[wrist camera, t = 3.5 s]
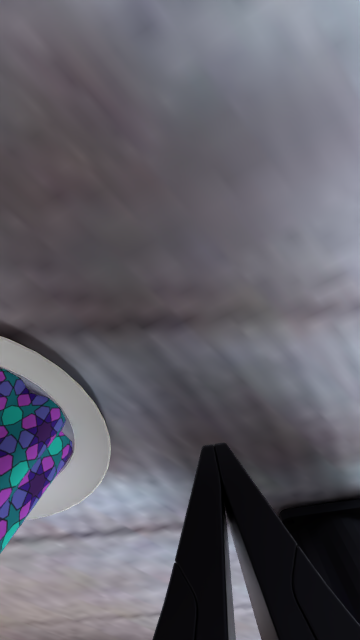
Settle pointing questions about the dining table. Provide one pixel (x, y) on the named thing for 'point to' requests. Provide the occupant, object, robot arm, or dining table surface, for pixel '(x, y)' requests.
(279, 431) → the dining table surface
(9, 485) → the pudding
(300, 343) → the dining table surface
